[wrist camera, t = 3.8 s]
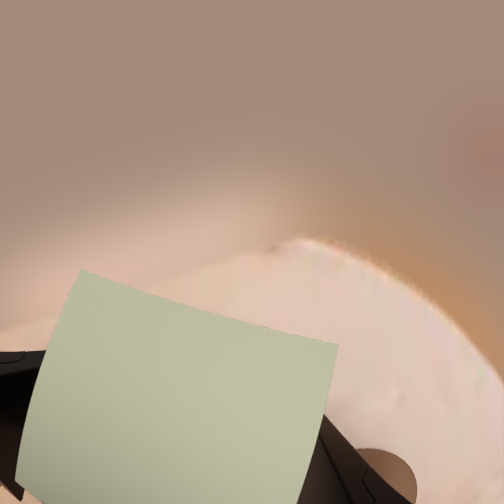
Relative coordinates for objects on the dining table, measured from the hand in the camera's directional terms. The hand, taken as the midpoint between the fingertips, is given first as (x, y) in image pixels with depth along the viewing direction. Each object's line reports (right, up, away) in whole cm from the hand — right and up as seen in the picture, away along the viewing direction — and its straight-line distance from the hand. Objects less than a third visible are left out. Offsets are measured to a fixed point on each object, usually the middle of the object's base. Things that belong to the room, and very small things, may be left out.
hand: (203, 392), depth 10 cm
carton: (-1, -4, +5) cm, 7 cm away
